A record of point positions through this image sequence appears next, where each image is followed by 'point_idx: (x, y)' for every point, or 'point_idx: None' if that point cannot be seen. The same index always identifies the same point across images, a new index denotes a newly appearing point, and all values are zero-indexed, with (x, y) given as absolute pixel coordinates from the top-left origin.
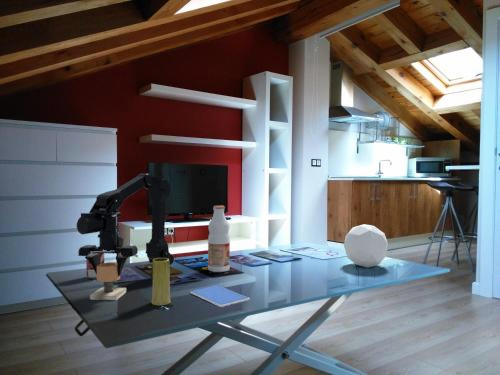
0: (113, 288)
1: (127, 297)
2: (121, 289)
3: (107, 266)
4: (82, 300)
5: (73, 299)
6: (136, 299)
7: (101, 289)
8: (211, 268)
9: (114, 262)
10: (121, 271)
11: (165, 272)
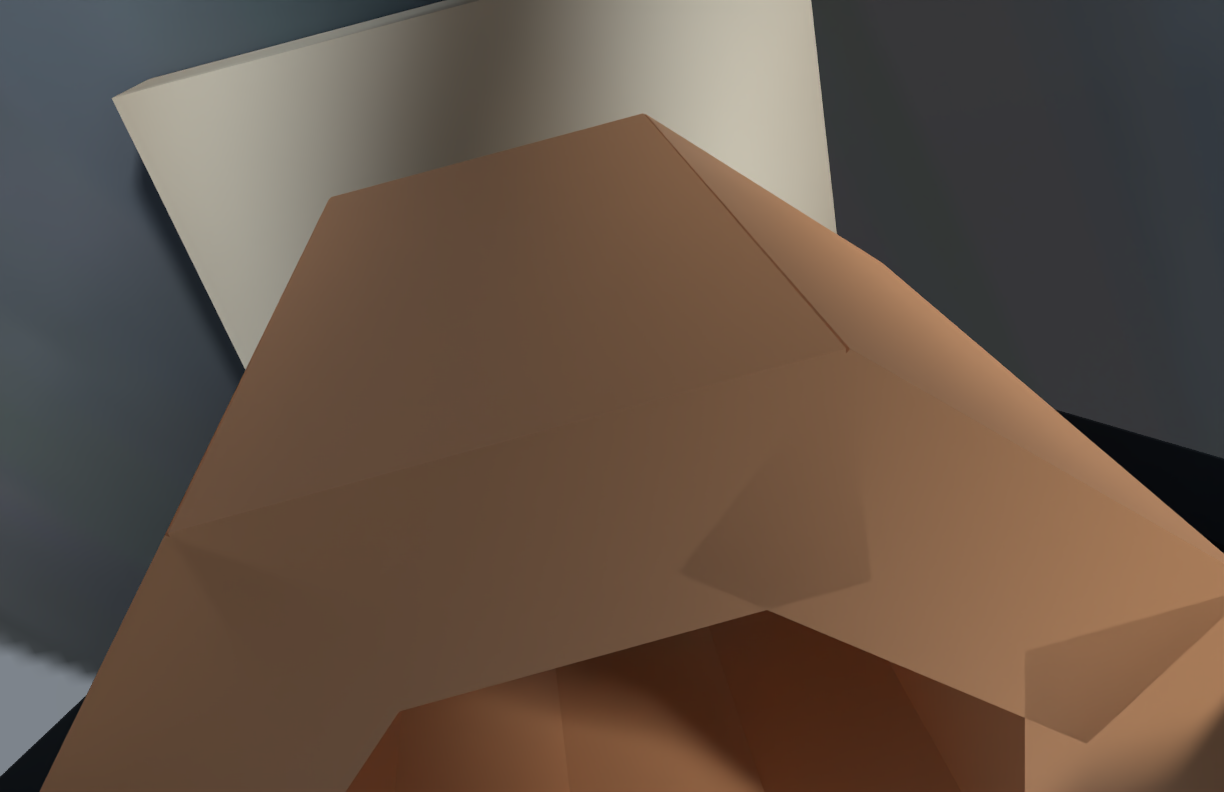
0: (503, 82)
1: (956, 248)
2: (753, 96)
3: None
4: None
5: (91, 645)
6: (1156, 289)
7: (278, 260)
8: None
9: (695, 435)
10: (1106, 442)
11: None
